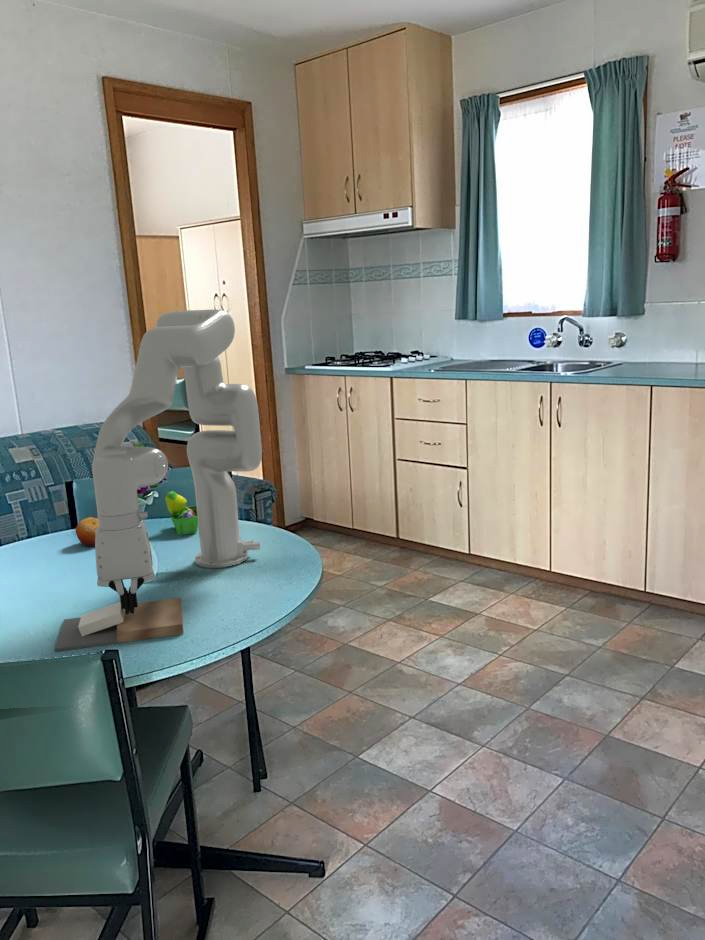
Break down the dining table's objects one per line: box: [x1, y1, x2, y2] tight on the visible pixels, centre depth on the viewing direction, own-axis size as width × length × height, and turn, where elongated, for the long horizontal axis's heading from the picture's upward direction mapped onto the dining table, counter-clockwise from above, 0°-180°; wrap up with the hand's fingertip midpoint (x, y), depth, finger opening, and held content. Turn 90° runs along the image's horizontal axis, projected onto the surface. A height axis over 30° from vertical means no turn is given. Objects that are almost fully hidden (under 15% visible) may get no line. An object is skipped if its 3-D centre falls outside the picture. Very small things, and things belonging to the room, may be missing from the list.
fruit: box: [75, 516, 99, 547], centre depth 205 cm, size 8×8×8 cm
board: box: [116, 597, 184, 644], centre depth 152 cm, size 12×14×2 cm
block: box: [78, 601, 125, 636], centre depth 150 cm, size 8×6×2 cm
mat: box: [54, 616, 118, 652], centre depth 150 cm, size 11×14×1 cm
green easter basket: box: [164, 490, 199, 535], centre depth 214 cm, size 11×9×11 cm
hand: (130, 611), depth 151 cm, fingers closed
